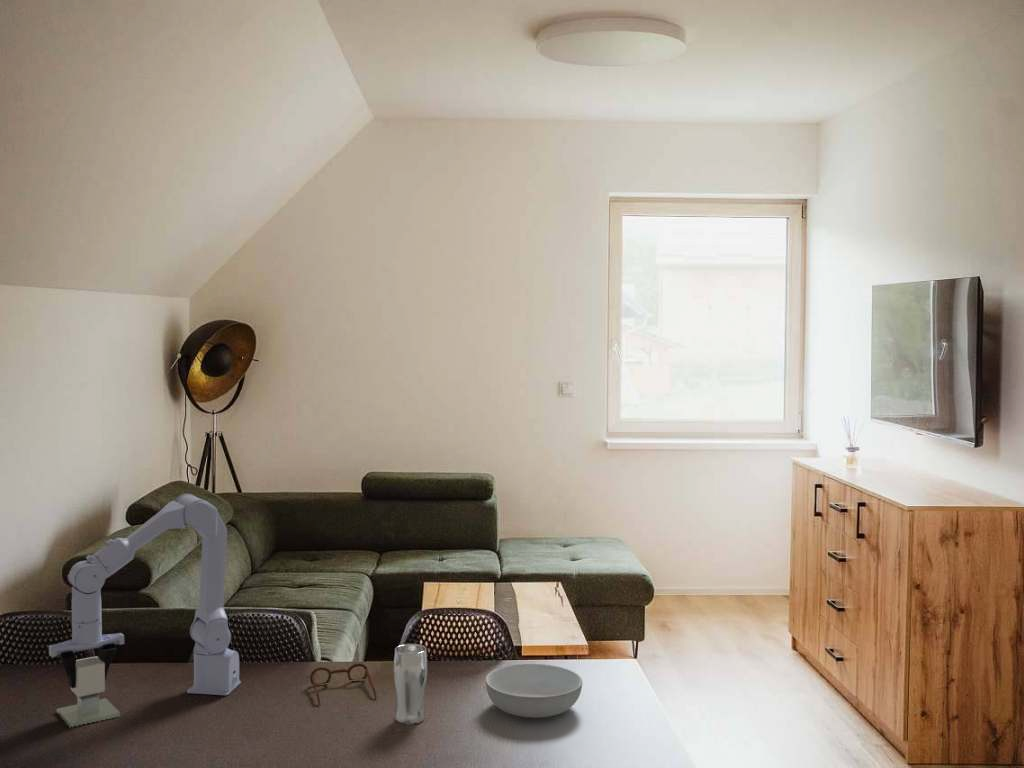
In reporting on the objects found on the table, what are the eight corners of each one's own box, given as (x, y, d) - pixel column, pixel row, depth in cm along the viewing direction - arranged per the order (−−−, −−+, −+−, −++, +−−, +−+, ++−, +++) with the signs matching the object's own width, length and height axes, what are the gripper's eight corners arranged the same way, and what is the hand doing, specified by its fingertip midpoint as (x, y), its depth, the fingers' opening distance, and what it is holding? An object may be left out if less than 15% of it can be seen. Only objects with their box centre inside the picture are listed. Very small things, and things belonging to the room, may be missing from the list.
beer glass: (421, 727, 208) (422, 655, 207) (389, 723, 209) (389, 652, 208) (430, 714, 215) (431, 644, 214) (399, 711, 216) (399, 642, 215)
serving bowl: (601, 709, 219) (602, 678, 218) (537, 738, 203) (537, 705, 203) (530, 685, 233) (530, 655, 232) (464, 710, 218) (465, 678, 217)
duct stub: (105, 701, 219) (105, 682, 219) (120, 716, 212) (120, 696, 211) (56, 712, 213) (56, 692, 213) (69, 728, 205) (69, 707, 205)
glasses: (367, 682, 234) (367, 661, 234) (378, 702, 222) (378, 680, 222) (309, 688, 230) (309, 666, 230) (317, 709, 218) (317, 686, 218)
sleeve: (105, 691, 212) (104, 663, 211) (77, 697, 208) (77, 668, 208) (97, 683, 216) (97, 656, 215) (70, 689, 213) (70, 661, 212)
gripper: (116, 609, 219) (117, 670, 220) (44, 620, 210) (45, 685, 211) (127, 617, 213) (127, 680, 214) (53, 629, 204) (54, 695, 205)
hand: (87, 683), depth 212 cm, fingers closed on sleeve, 5 cm apart
